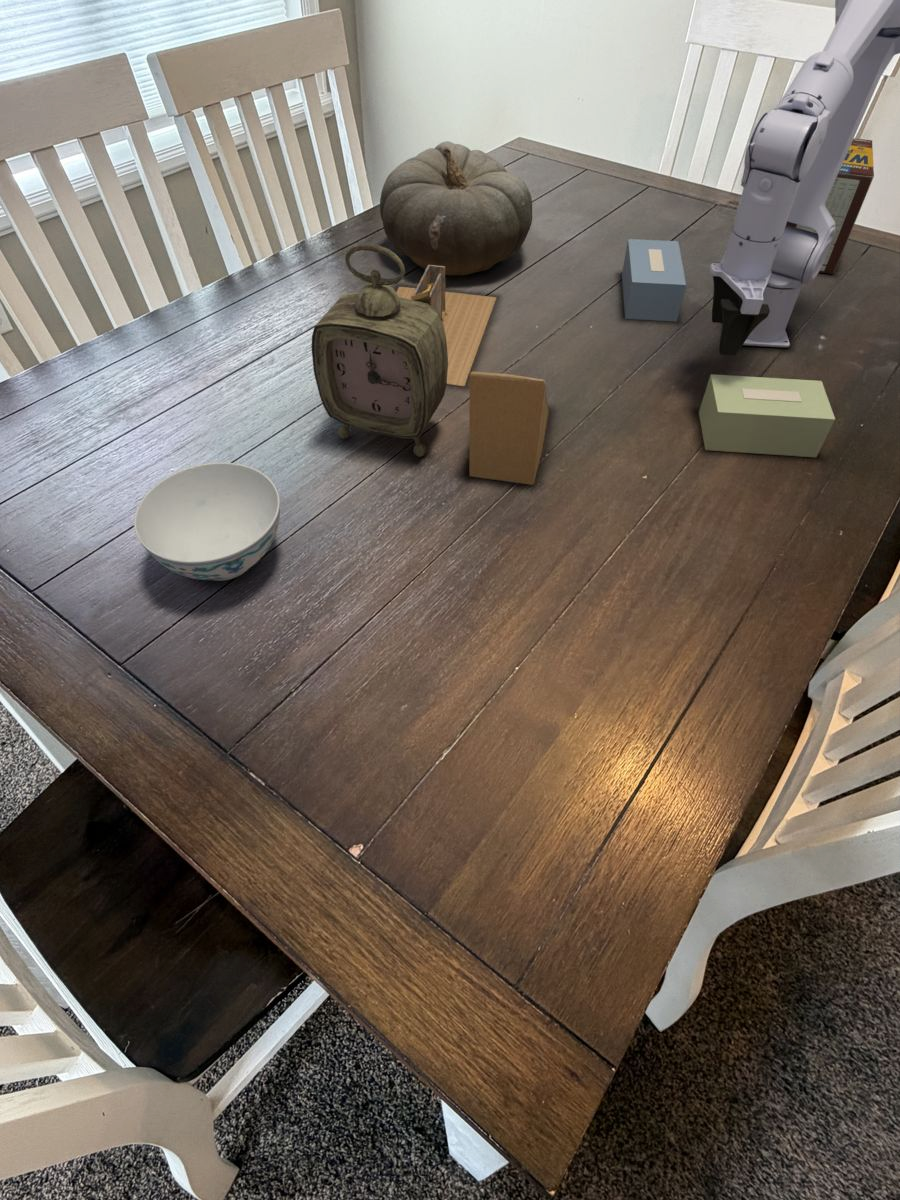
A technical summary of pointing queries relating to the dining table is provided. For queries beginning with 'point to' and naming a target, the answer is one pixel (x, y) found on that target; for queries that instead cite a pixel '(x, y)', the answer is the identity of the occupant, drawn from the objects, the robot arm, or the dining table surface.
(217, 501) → the chinaware
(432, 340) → the tabletop clock
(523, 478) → the sandwich container
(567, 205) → the dining table surface
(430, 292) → the architectural model on board
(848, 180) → the protein box
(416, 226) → the gourd
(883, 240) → the dining table surface
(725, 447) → the front tissue box
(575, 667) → the dining table surface
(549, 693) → the dining table surface
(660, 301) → the back tissue box
